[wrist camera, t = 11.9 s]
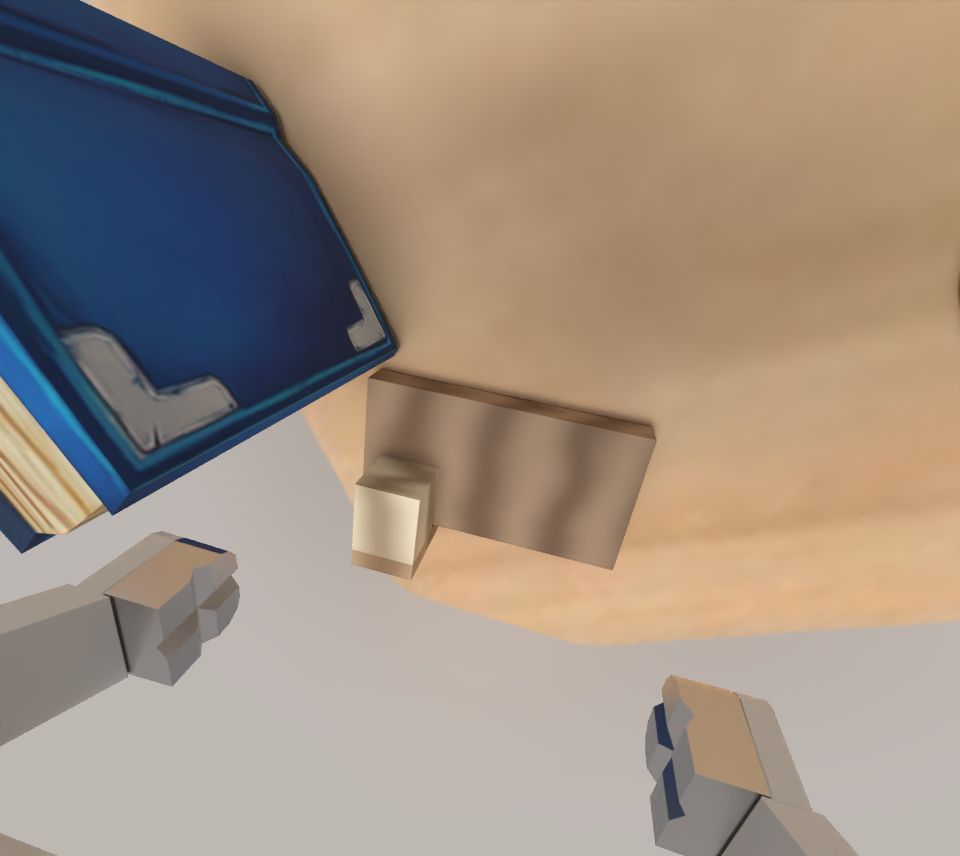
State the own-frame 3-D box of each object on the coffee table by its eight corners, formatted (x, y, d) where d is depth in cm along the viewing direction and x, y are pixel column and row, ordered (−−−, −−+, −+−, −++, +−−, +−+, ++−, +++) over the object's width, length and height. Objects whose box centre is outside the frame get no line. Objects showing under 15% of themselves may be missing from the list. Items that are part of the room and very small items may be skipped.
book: (187, 116, 35) (-565, -88, 12) (257, 59, 32) (-520, -330, 10) (336, 381, 40) (18, 577, 18) (405, 350, 38) (137, 530, 15)
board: (652, 427, 36) (656, 440, 34) (611, 551, 41) (612, 570, 39) (380, 369, 39) (368, 377, 37) (373, 491, 44) (361, 506, 42)
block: (446, 456, 41) (419, 500, 34) (437, 527, 44) (411, 580, 37) (391, 443, 41) (354, 484, 35) (386, 514, 44) (351, 564, 38)
